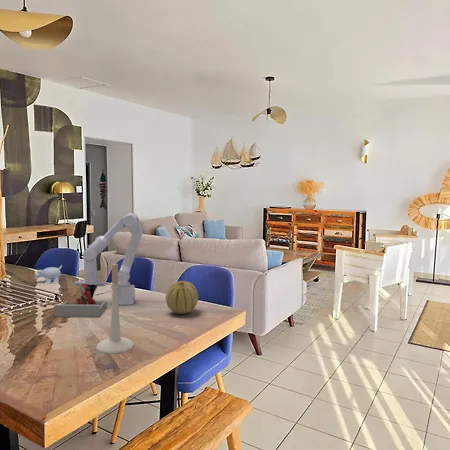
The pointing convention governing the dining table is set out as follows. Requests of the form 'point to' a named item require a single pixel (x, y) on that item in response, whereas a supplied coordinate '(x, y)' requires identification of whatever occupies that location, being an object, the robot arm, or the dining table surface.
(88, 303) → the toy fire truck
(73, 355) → the dining table surface
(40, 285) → the dining table surface
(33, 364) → the dining table surface
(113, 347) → the candlestick
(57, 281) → the hippopotamus toy
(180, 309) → the cantaloupe
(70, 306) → the tray
